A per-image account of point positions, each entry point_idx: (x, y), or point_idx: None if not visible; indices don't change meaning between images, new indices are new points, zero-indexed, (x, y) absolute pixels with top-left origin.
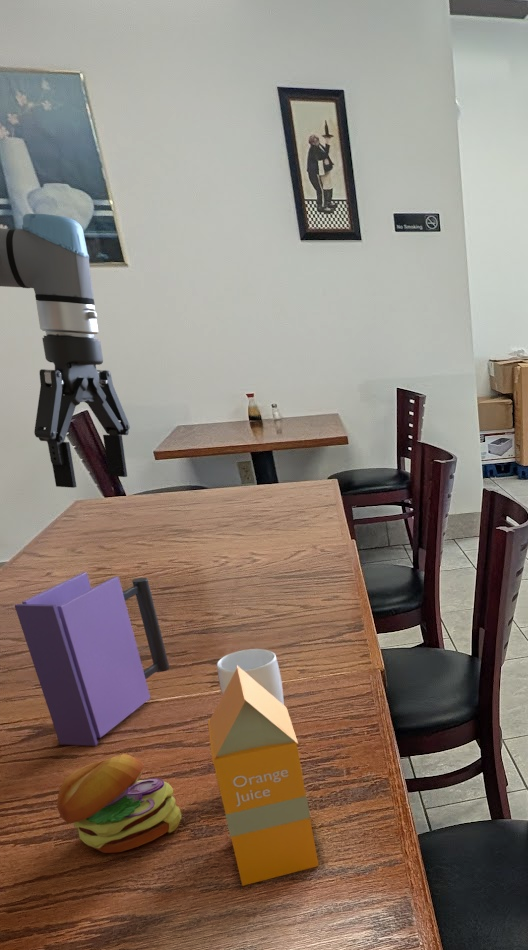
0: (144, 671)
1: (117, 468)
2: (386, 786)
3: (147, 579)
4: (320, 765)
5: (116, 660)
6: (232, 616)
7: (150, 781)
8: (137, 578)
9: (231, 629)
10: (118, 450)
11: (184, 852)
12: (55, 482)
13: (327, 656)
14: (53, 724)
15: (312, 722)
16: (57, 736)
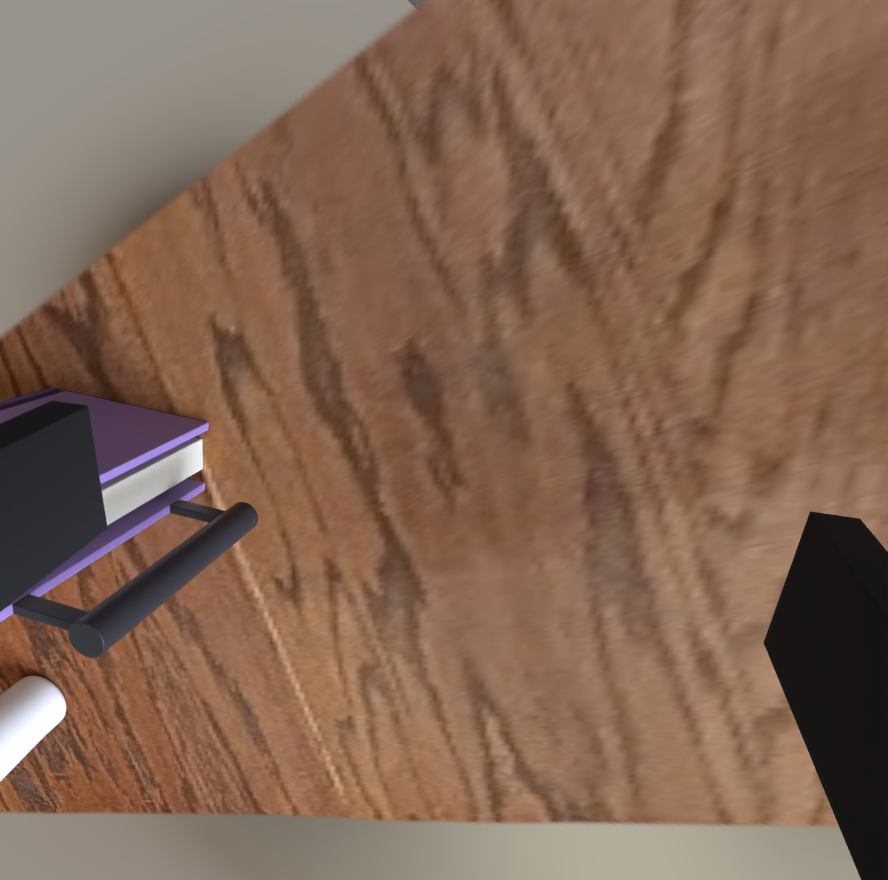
0: (177, 510)
1: (802, 647)
2: (41, 810)
3: (93, 657)
4: (67, 750)
5: None
6: (727, 541)
7: None
8: (93, 631)
9: (610, 558)
10: (870, 858)
11: None
12: (30, 410)
13: (415, 763)
14: (16, 397)
15: (167, 741)
16: (37, 391)
